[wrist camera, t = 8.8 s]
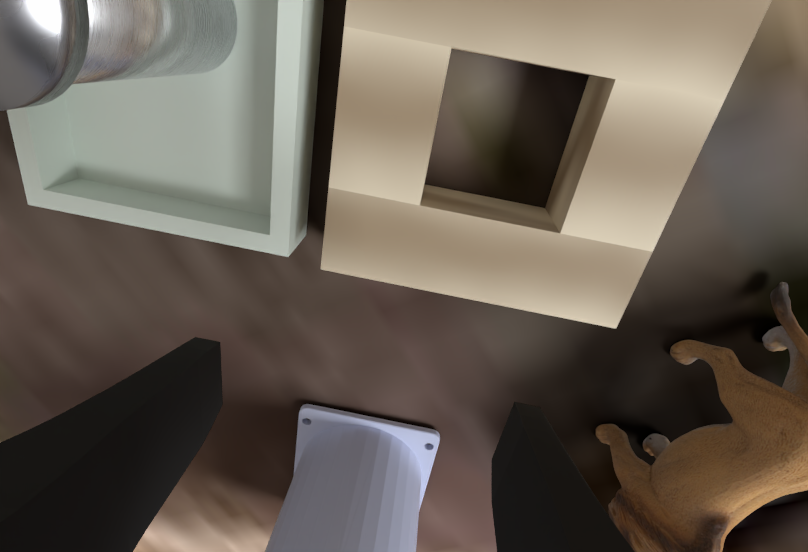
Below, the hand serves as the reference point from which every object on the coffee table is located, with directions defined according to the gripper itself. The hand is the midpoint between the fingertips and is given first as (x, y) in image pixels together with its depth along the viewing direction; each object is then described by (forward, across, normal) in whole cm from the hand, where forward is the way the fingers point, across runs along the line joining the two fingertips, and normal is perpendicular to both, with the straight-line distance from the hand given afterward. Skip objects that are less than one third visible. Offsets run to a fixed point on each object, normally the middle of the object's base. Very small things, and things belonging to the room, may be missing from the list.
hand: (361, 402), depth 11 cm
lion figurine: (+10, -15, +6) cm, 19 cm away
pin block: (+10, -3, -5) cm, 12 cm away
